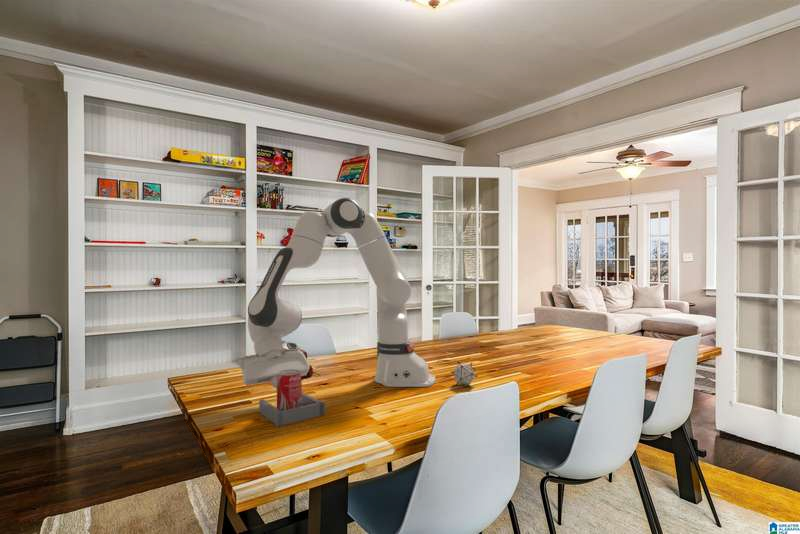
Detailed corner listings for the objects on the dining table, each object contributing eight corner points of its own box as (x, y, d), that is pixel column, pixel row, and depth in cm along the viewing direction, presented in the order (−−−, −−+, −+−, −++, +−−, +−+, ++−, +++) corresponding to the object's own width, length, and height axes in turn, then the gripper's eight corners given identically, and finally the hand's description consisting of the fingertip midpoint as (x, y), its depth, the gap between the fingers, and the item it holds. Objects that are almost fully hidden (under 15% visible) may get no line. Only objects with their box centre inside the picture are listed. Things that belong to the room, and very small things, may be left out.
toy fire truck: (304, 370, 175) (303, 345, 175) (314, 377, 165) (314, 350, 165) (287, 373, 172) (286, 347, 172) (296, 380, 161) (296, 352, 161)
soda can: (278, 409, 129) (278, 369, 129) (302, 408, 130) (302, 368, 130) (275, 417, 122) (275, 375, 122) (300, 416, 123) (300, 374, 123)
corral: (257, 412, 127) (257, 400, 127) (303, 402, 136) (303, 391, 136) (276, 426, 116) (276, 413, 116) (325, 414, 125) (325, 402, 125)
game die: (468, 394, 155) (485, 372, 155) (462, 392, 147) (479, 368, 148) (449, 379, 159) (465, 357, 160) (442, 376, 152) (459, 353, 152)
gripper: (239, 351, 129) (251, 391, 121) (303, 343, 141) (317, 379, 134) (235, 363, 132) (245, 403, 125) (297, 354, 145) (310, 390, 137)
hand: (283, 391), depth 129 cm, fingers closed
